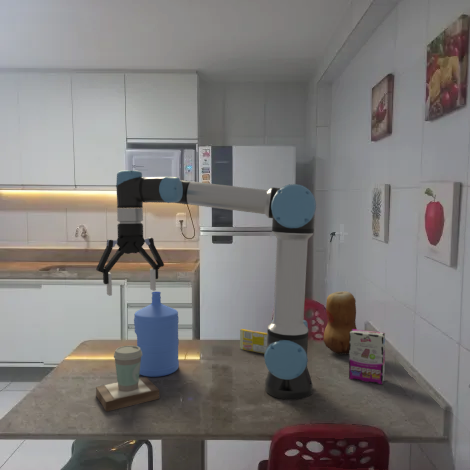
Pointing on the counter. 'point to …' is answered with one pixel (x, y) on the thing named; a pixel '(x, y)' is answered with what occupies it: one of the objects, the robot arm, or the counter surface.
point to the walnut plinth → (126, 394)
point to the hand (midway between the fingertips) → (131, 292)
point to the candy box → (253, 341)
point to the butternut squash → (339, 321)
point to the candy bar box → (367, 356)
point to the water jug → (157, 338)
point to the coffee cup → (128, 367)
